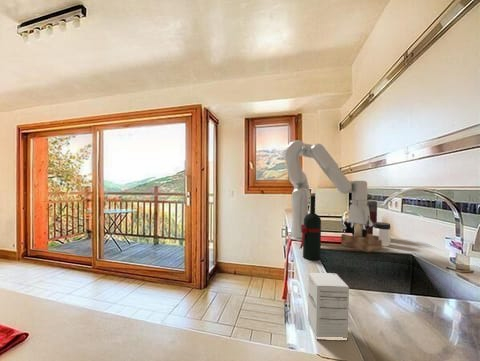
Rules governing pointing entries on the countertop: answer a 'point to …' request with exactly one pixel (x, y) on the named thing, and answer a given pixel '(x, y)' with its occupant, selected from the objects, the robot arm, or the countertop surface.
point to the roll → (358, 230)
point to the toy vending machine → (372, 213)
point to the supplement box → (328, 305)
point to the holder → (362, 242)
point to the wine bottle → (311, 233)
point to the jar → (382, 232)
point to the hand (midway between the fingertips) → (359, 235)
